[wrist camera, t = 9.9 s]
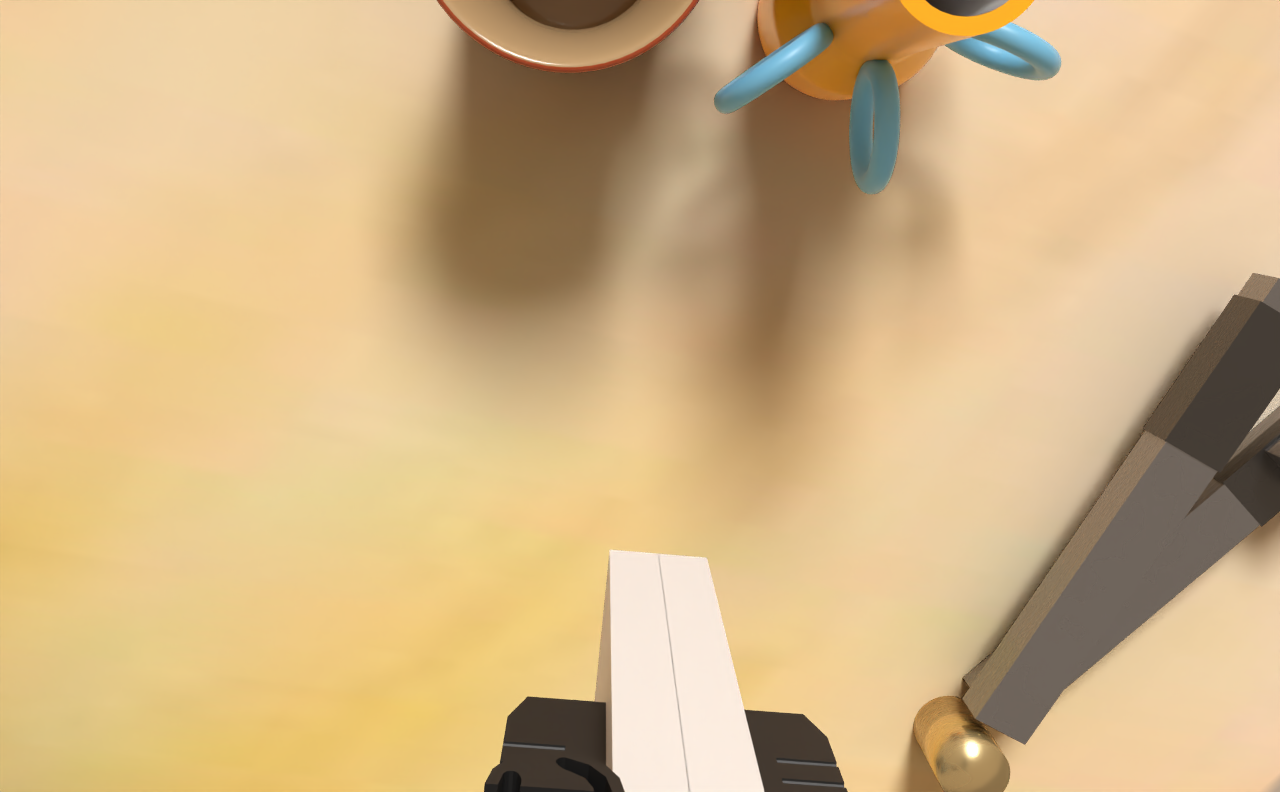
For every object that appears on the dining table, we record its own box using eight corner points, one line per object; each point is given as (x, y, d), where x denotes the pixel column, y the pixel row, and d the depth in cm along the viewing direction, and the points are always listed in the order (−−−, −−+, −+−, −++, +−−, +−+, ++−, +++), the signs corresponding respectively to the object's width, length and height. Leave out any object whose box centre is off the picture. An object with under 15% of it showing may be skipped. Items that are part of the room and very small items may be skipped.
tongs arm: (1012, 724, 45) (1027, 746, 43) (959, 696, 44) (973, 718, 43) (1304, 304, 41) (1333, 311, 39) (1249, 271, 41) (1277, 277, 39)
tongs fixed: (942, 766, 47) (970, 819, 44) (900, 725, 47) (926, 776, 43) (1376, 399, 44) (1447, 423, 40) (1336, 351, 43) (1404, 370, 40)
